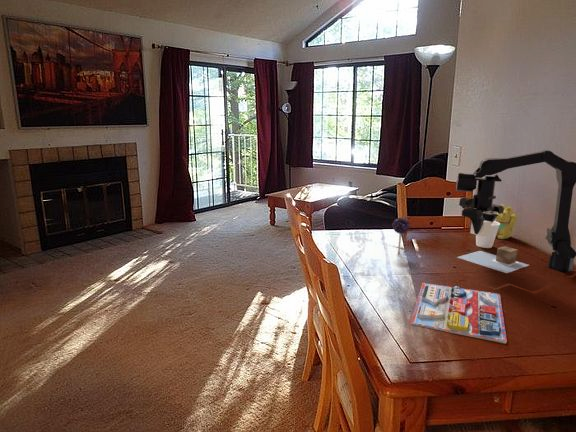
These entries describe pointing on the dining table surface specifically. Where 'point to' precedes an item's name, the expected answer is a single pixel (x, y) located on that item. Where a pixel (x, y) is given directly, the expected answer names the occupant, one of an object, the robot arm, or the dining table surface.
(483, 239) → the cup
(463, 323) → the puzzle board
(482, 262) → the mat
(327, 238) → the dining table surface
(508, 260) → the walnut block
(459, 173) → the robot arm
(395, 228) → the lollipop
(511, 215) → the figurine
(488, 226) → the cream block
